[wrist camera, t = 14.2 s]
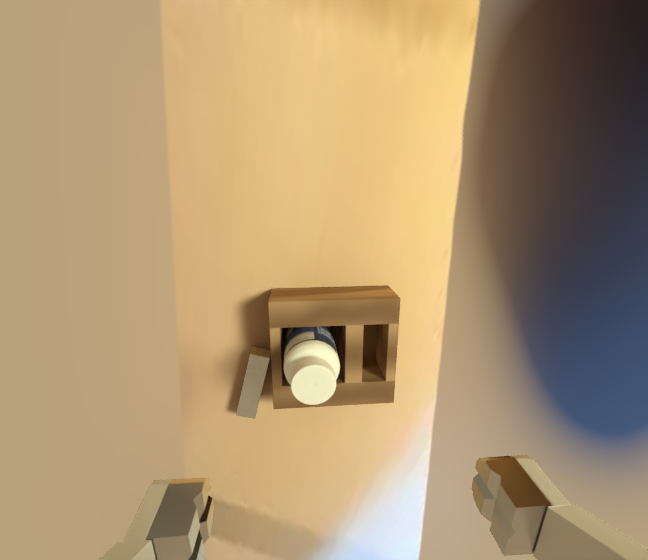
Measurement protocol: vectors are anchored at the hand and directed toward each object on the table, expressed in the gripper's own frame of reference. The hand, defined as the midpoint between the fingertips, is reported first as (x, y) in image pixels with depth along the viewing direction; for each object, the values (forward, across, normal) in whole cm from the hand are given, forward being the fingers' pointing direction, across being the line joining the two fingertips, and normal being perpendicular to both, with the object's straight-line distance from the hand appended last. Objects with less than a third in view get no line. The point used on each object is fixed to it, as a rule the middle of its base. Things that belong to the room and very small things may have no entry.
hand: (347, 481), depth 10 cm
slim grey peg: (+26, +7, +14) cm, 30 cm away
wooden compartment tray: (+26, -2, +9) cm, 28 cm away
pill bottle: (+26, 0, +9) cm, 28 cm away
